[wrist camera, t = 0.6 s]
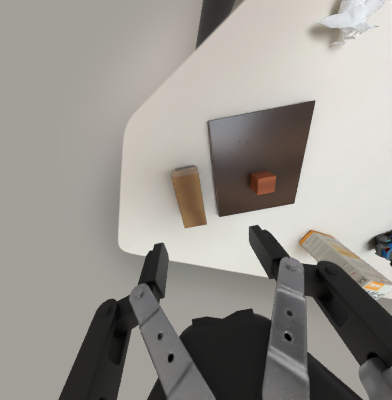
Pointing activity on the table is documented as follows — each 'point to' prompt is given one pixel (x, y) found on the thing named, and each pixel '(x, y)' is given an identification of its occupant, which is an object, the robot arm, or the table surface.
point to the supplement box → (347, 263)
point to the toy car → (384, 247)
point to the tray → (259, 156)
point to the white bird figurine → (352, 17)
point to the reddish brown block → (262, 182)
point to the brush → (189, 196)
